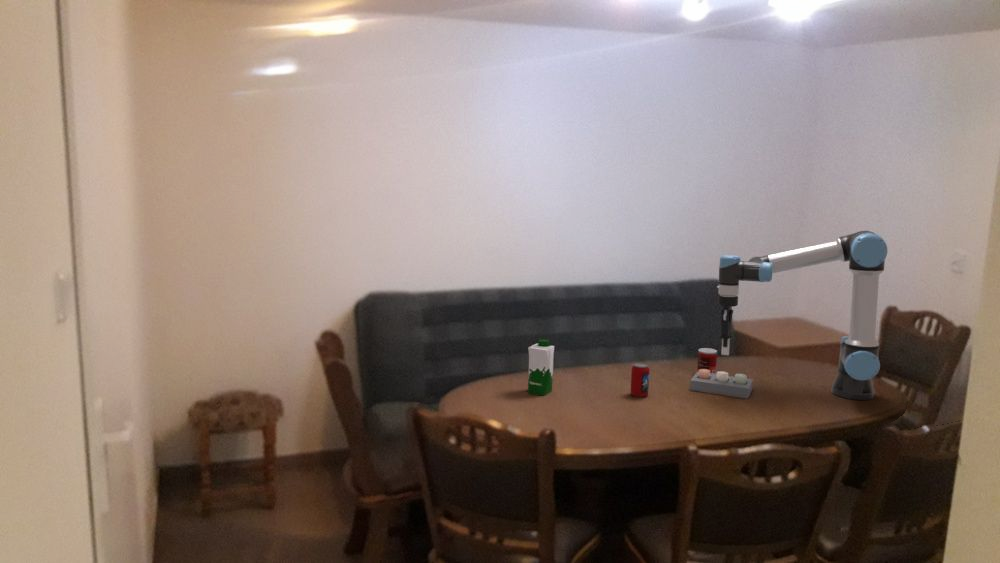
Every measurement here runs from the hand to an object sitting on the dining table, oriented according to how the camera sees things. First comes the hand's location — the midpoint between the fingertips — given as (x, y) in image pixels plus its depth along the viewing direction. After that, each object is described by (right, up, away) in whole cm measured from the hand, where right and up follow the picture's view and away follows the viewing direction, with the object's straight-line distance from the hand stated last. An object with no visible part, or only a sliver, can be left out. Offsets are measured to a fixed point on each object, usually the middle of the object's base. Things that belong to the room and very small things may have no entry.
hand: (725, 354), depth 304 cm
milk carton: (-73, -14, -6) cm, 75 cm away
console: (-1, -14, +3) cm, 14 cm away
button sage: (+6, -13, -1) cm, 14 cm away
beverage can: (-35, -15, -7) cm, 39 cm away
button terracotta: (-7, -12, +5) cm, 15 cm away
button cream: (-1, -12, +2) cm, 13 cm away
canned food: (-2, -11, +22) cm, 24 cm away
